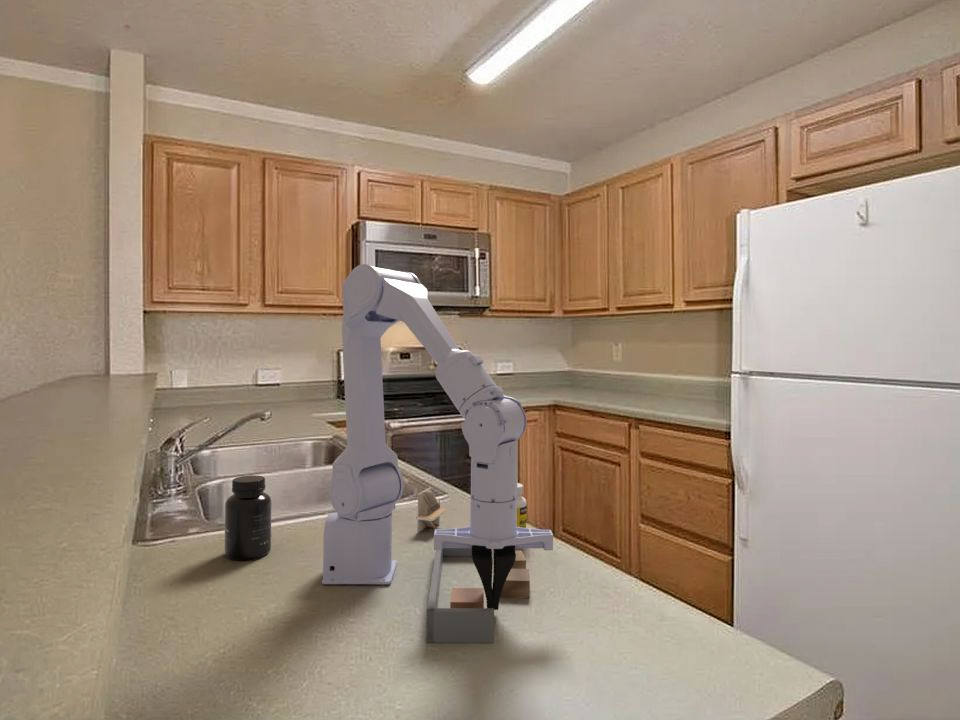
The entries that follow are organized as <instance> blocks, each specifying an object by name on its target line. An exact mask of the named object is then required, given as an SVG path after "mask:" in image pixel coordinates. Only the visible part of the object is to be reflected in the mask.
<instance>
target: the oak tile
mask: <svg viewBox="0 0 960 720" xmlns="http://www.w3.org/2000/svg"><path fill="white" fill-rule="evenodd" d="M515 553H516V559H515V562H514V565H513V567H512V568H511V569H527V559H526V556H525V555H524V553H523V551H522V550H515Z"/></svg>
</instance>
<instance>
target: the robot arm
mask: <svg viewBox="0 0 960 720" xmlns="http://www.w3.org/2000/svg"><path fill="white" fill-rule="evenodd" d="M341 289H342V311H343V315H342V316H343V317H342V320H341V321H342V322H341V341H342V359H343V360H342V361H343V384H344V404H345V424H346V425H345V427H346V428H345V429H346V445H347V446H346V447H345V449H344V450H343V451H342V453H340V454H339V456H338V457H336V459H335V460H334V461H333V463H332V464H331V465H332V476H331V480H330V483H329V487H328V495H329V501H330V504H331V506H332V508H333V510H334V511H335V512H330V513H328V514H327V517H326V519H325V522H324V523H325V524H324V529H323V530H324V531H323V545H322V546H323V550H322V551H323V552H322V553H323V554H322V557H323V558H322V559H323V561H322V564H323V565H322V569H323V570H322V579H321V584H323V585H390V584H391V583H392V581H393V579H394V578H393V577H394V574H395V571H396V568H397V565H398V560H396V559H393V558H392V557H393V556H392V555H393V554H392V553H393V552H392V551H393V550H392V549H393V545H392V543H393V541H392V540H393V511H394V510H396V503H397V502H398V501H399V500H400V499H401V497H402V495H403V492H404V485H405V483H404V482H405V481H404V478H403V474H402V472H401V470H400V467H399V463H398V462H399V459H398V457H399V456H398V454H397V453H396V452H395V451H394V450H392V449H391V448H390V447H389V446H388V445H387V444H386V443H387V442H386V426H385V425H386V424H385V423H386V422H385V405H384V403H385V402H384V386H383V385H384V384H383V383H384V382H383V366H382V365H383V363H382V341H381V338H382V336H383V335H384V334H385V333H386V332H387V330H389V328H392V327H393V326H394V325H396V324H397V323H399V322H403V323H404V324H405V325H406V327H407V328H408V330H410V331H411V333H412V334H413V335H414V337H416V339H417V341H418V342H419V343H420V344H421V345H422V347H423V348H424V349H425V350H426V351H427V353H428V354H429V355H430V357H431V358H432V359H433V361H434V362H435V363H436V364H437V365H436V371H435V378H436V380H437V382H439V384H440V386H441V387H442V389H443V390H444V392H445V393H446V395H447V396H448V397H449V399H450V400H451V402H452V404H453V405H454V406H455V408H456V410H457V411H458V412H459V414H460V415H461V417H462V418H463V419H464V421H462V422H461V423H460V424H461V425H460V427H461V430H462V436H463V437H464V439H465V440H466V442H467V445H468V449H469V452H468V455H469V457H470V461H471V462H470V515H469V516H470V517H469V518H470V519H469V521H470V523H469V524H470V526H463V527H454V528H452V527H451V528H441V529H435V528H434V533H433V550H434V551H436V550H442V549H443V548H472V556H471V559H472V562H473V564H474V566H475V569H476V571H477V573H478V575H479V578H480V581H481V583H482V588H484V595H485V599H486V600H485V601H486V608H494V611H498V610H499V607H500V599H501V597H500V596H501V593H502V589H503V586H504V584H505V581H506V579H507V576H508V574H509V572H510V570H511V568H512V567H513V565H514V562H515V559H516V553H515V551H516V549H543V550H544V551H553V550H554V534H553V532H552V530H551V529H539V528H530V527H529V528H528V527H526V528H522V527H517V483H518V473H519V472H518V471H519V470H518V468H519V466H518V464H519V463H518V462H519V460H518V459H519V458H518V457H519V454H518V453H519V449H518V448H519V439H520V438H521V437H522V436H524V433H525V432H526V429H527V423H528V421H527V414H526V412H525V410H524V408H523V406H522V403H521V401H519V400H518V399H517V398H515V397H512V396H507V395H505V391H504V390H503V388H502V387H501V386H500V385H499V386H498V384H496V383H495V381H494V380H493V378H492V377H491V376H490V374H489V373H488V372H487V370H486V368H484V366H483V364H484V360H483V358H482V357H481V356H480V355H479V354H474V353H473V352H472V351H470V350H468V349H467V350H466V349H460V348H459V347H458V345H457V343H456V342H455V341H454V339H453V337H452V335H451V334H450V333H449V331H448V329H447V328H446V326H445V324H444V322H443V321H442V319H441V318H440V317H439V315H438V313H437V311H436V309H435V308H434V307H433V305H432V303H431V302H430V300H429V298H428V289H427V288H426V287H425V286H424V285H423V284H422V282H421V281H420V279H419V278H418V276H417V275H415V274H414V273H413V272H409V271H399V270H393V269H389V268H383V267H378V266H377V267H376V266H373V265H371V264H367V263H362V264H358V265H357V266H355V267H354V268H353V269H352V270H351V272H350V273H349V274H348V275H347V277H346V278H345V279H344V280H343V282H342V284H341Z"/></svg>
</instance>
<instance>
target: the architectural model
mask: <svg viewBox="0 0 960 720" xmlns="http://www.w3.org/2000/svg"><path fill="white" fill-rule="evenodd" d="M447 511H448V508H443V507H441V499H439V500H438V499H437V498H436V496H435V494H434V492H433V491H432V487H431V486H430V487H428V488H426V489H425V490H422V491H421V492H419V493H417V516H416V518H415V519H416V520H417V525H416V526H417V531H416V533H417V534H419V533H421V532H422V531H424V530H425V529H427V528H431V529H432V528H434V527H435V528H436V526H440V524H441V523H440V520H441V519H440V518H441V517H440V516H442V515H443V514H445V513H446V512H447ZM435 524H437V525H435ZM424 528H425V529H424ZM435 528H434V529H435ZM421 530H422V531H421ZM420 531H421V532H420Z"/></svg>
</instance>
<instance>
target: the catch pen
mask: <svg viewBox="0 0 960 720" xmlns="http://www.w3.org/2000/svg"><path fill="white" fill-rule="evenodd" d="M444 557H472V548H443V549H442V550H435V554H434V561H433V567H432V574H431V581H430V588H429V596H428V600H427V602H428V603H427V608H426V643H427V644H429V643H430V644H439V643H441V644H442V643H443V644H444V643H445V644H446V643H448V644H451V643H452V644H453V643H454V644H456V643H458V644H463V643H464V644H465V643H466V644H469V643H471V644H473V643H474V644H475V643H477V644H478V643H479V644H481V643H485V644H486V643H487V644H488V643H489V644H490V643H491V644H493V643H492V642H494V643H495V610H494V608H487V607H486V608H485V607H484V608H450V607H447V608H445V607H443V608H442V607H440V608H439V596H440V589H441V588H440V587H441V579H442V570H443V569H442V567H443V559H444Z"/></svg>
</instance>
